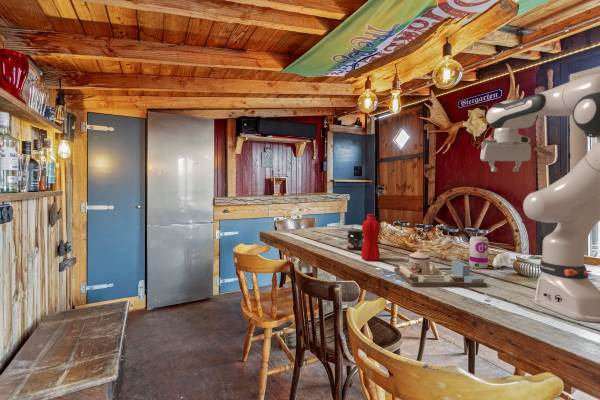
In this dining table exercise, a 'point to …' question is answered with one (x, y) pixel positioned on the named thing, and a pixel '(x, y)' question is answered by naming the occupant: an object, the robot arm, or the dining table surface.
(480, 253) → the supplement can
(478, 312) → the dining table surface
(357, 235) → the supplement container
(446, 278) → the broken carriage
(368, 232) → the water bottle
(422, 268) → the teacup with lid
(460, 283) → the lane rails
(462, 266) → the carriage
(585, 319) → the robot arm
